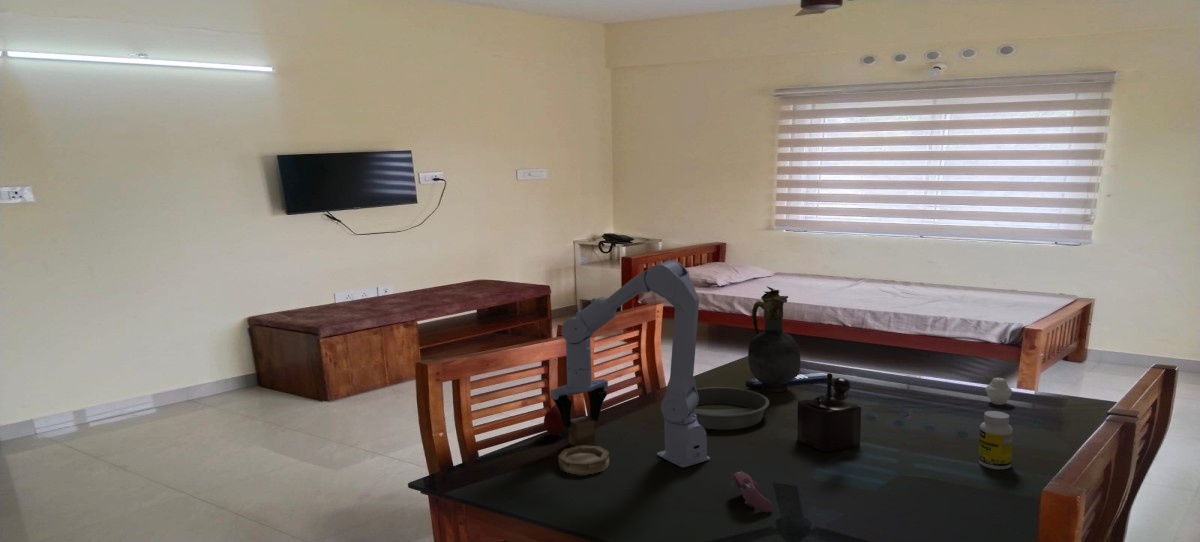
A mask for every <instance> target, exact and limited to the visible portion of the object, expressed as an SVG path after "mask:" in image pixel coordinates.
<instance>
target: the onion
mask: <svg viewBox="0 0 1200 542" xmlns="http://www.w3.org/2000/svg"><path fill="white" fill-rule="evenodd" d="M543 424H544V425H543V426H544V428H545V430H546V431H547V432H548V433H550V434H551V435H553V436H554V435H555V437H557V436H556V435H558V436H559V435H560V434H561V433H563V431H565V429H566V428H567V427H565V426H564V425H563V421H562V417H561V414H560V412H559V409H558V407H557V405H556V404H555V403H554V404H553V405H552V408H550V409H549V410H548V411H547V412H546V413H545V415H544V418H543Z"/></svg>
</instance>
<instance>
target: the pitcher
mask: <svg viewBox="0 0 1200 542" xmlns="http://www.w3.org/2000/svg"><path fill="white" fill-rule="evenodd" d="M766 288H768V289H769V291H763V292H764V294H763V295H762V296H761V297H760V299H761V300H759V301H756V302H755V303H754V304H753V307H752V309H751V319H752V323H753V328H754V331H755V334H756V335H755V336H754V337H753V338H752V339H750V342H749V346H748V350H747V351H748V352H747V357H748V358H747V359H748V360H747V361H748V367H749V369H750V372H751V374H752V376H753V377H754V378H755V379H756V380H757V381H758V382H759V383H761V384H760V389H761V390H763V391H766V392H768V393H782V392H786V391H787V390H788V386H787V385H786V384H788V383H790V382H791V381H793V380H795V378H796V377H798V375H799V373H800V368H801V360H802V359H801V353H800V347H799V345H798V343H797V341H796V340H795V339H794V338H793V336H791V335H790V333H787V332H784V331H783V329H784V328H783V322H784V321H783V318H784V303H787V302H788V298H789V296H788V295H780V292H781V290H780V289H774V288H773V287H770V286H766ZM759 308H761V310H763V318H764V331H762V332H759V328H758V319H757V318H758V317H757V314H758V313H757V312H758V309H759Z"/></svg>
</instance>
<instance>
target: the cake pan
mask: <svg viewBox="0 0 1200 542" xmlns="http://www.w3.org/2000/svg"><path fill="white" fill-rule="evenodd" d="M696 390H697V393H698V396H699V402H698V405H697V406H701V405H708V404H709V405H710V404H728V405H729V404H730V405H739V406H742V407H743V408H730V409H704V408H701V409H700V408H696V407H695V408H694V411H695V413H696V415H697V421H698V423H699V424H700V425H701V426H702V427H703V428H704V429H707V430H738V429H744V428H748V427H753V426H755V425H757V424H760V422H761V421H762V419H763V417H764V413H765V410H766V409H768V407H769V404H770V400H769V399H768V397H767V396H765V395H763V394H762V393H759V392H757V391H754V390H750V389H745V388H738V387H728V386H727V387H726V386H707V387H698V388H696Z"/></svg>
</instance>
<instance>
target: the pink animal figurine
mask: <svg viewBox="0 0 1200 542" xmlns="http://www.w3.org/2000/svg"><path fill="white" fill-rule="evenodd" d="M731 477H732V481H731V485H732V487H733V488H736V487H737V488H738V489H739V491H740V493H741V495H742V497H743V499H744V503H745V505H746V506H749V508H755V509H756V510H758V511H760V512H764V513H771V512H772V511H773V508H774V505H773V504H772V502H771V501H770V500H769V499H768V498H766V497H765V496H763V495H762V494H761V493H760V492H759V491H761V490H760V489H761V488H760V485H759V484H758V482H757V481H755V480H753V478H752V477H751V475H749V474H747V473H746V472H744V471H743V470H741V471H736V472H735V473H733V474H732V475H731Z"/></svg>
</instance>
